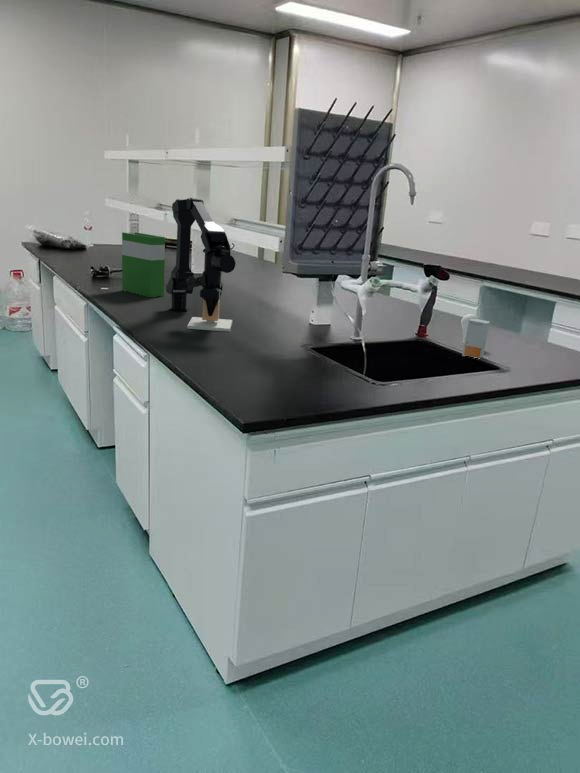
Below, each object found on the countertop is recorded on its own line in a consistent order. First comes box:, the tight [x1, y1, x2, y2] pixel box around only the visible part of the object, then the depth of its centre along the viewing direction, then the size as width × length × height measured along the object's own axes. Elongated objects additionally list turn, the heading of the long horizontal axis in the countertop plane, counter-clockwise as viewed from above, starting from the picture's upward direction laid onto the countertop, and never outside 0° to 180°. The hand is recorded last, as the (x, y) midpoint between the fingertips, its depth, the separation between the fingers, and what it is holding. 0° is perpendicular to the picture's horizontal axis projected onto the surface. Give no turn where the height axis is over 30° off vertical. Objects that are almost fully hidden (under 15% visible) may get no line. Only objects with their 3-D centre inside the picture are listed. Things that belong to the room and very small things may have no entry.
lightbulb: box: [460, 313, 480, 344], centre depth 206 cm, size 6×6×11 cm
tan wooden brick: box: [201, 298, 221, 321], centre depth 202 cm, size 5×5×7 cm
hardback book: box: [121, 231, 166, 298], centre depth 246 cm, size 18×7×24 cm, turn 53°
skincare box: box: [461, 318, 491, 359], centre depth 190 cm, size 6×4×12 cm
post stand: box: [186, 316, 233, 333], centre depth 202 cm, size 14×14×8 cm
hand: (210, 314), depth 202 cm, fingers closed on tan wooden brick, 5 cm apart
